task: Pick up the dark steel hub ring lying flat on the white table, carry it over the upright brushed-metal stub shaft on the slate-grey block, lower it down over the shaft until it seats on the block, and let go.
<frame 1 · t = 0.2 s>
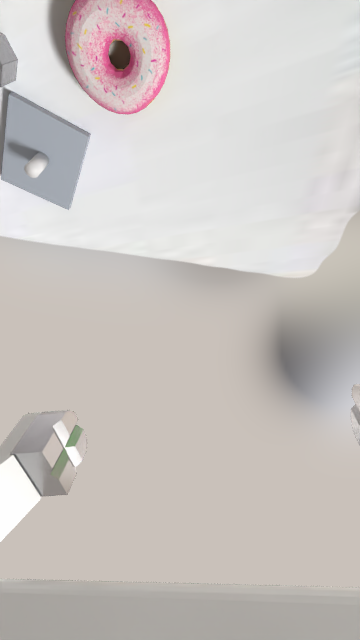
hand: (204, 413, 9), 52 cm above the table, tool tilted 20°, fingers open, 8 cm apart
donut: (121, 51, 43), on the table
shaft block: (45, 156, 53), on the table
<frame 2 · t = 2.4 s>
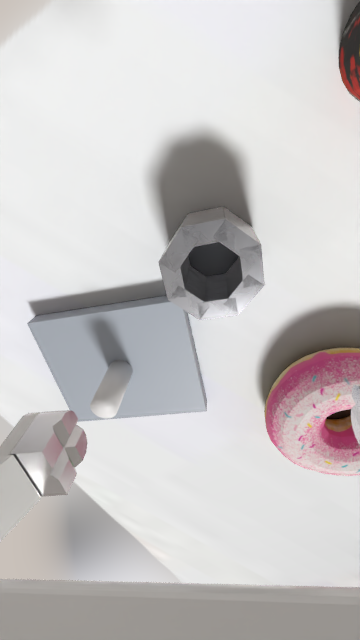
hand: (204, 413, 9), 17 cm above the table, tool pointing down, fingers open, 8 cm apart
hub: (212, 252, 24), on the table
donut: (332, 393, 30), on the table
shaft block: (125, 360, 30), on the table
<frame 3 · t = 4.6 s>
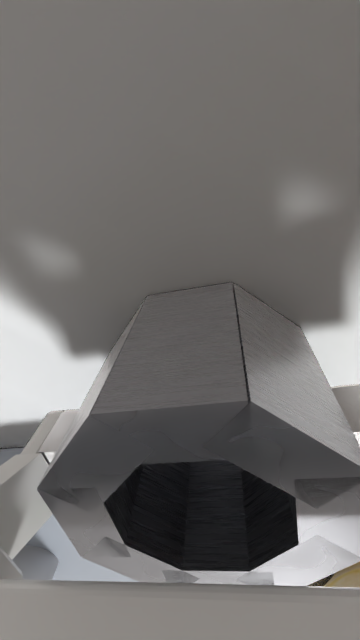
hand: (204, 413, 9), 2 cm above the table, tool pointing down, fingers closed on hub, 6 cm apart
hub: (206, 373, 11), on the table, touching gripper
shaft block: (51, 525, 17), on the table
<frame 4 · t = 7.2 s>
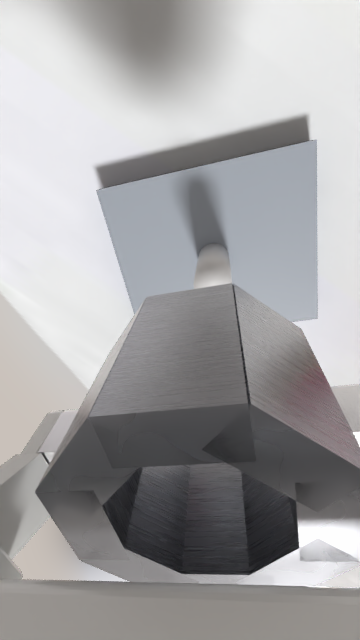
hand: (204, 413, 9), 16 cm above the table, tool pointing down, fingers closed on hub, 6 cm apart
hub: (206, 374, 11), point 15 cm above the table, touching gripper
shaft block: (213, 252, 23), on the table
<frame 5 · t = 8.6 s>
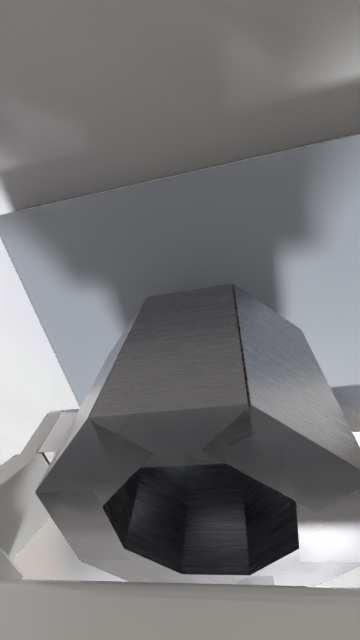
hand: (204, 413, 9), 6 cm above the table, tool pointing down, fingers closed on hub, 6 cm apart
hub: (206, 374, 11), point 4 cm above the table, touching gripper
shaft block: (210, 317, 14), on the table
when the fingers open (4 cm above the table, at t = 9.8 s): hub stays where it is, resting on shaft block.
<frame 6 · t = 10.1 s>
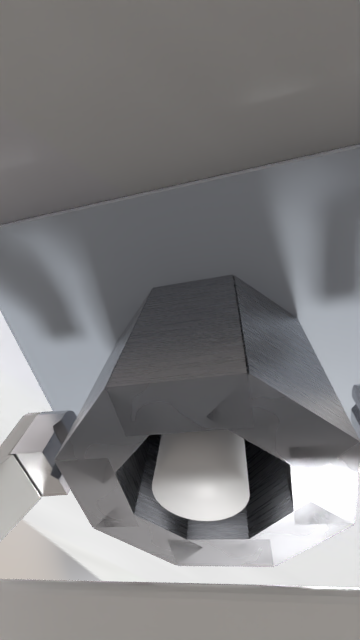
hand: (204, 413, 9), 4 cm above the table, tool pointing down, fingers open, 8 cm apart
hub: (208, 361, 11), point 1 cm above the table, touching shaft block
shaft block: (206, 340, 13), on the table
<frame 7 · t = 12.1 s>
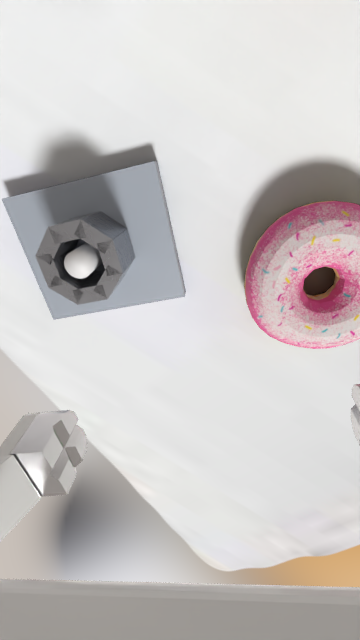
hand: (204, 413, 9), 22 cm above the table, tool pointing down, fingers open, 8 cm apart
hub: (98, 249, 28), point 1 cm above the table, touching shaft block
donut: (310, 271, 30), on the table
shaft block: (102, 246, 30), on the table
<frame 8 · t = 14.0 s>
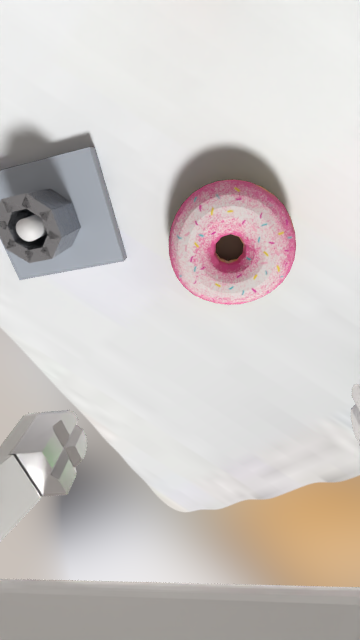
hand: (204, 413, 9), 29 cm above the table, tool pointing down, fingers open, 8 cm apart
hub: (51, 220, 35), point 1 cm above the table, touching shaft block
donut: (229, 240, 36), on the table
shaft block: (56, 218, 36), on the table
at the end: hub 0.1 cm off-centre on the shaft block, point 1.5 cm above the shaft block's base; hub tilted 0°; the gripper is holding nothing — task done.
